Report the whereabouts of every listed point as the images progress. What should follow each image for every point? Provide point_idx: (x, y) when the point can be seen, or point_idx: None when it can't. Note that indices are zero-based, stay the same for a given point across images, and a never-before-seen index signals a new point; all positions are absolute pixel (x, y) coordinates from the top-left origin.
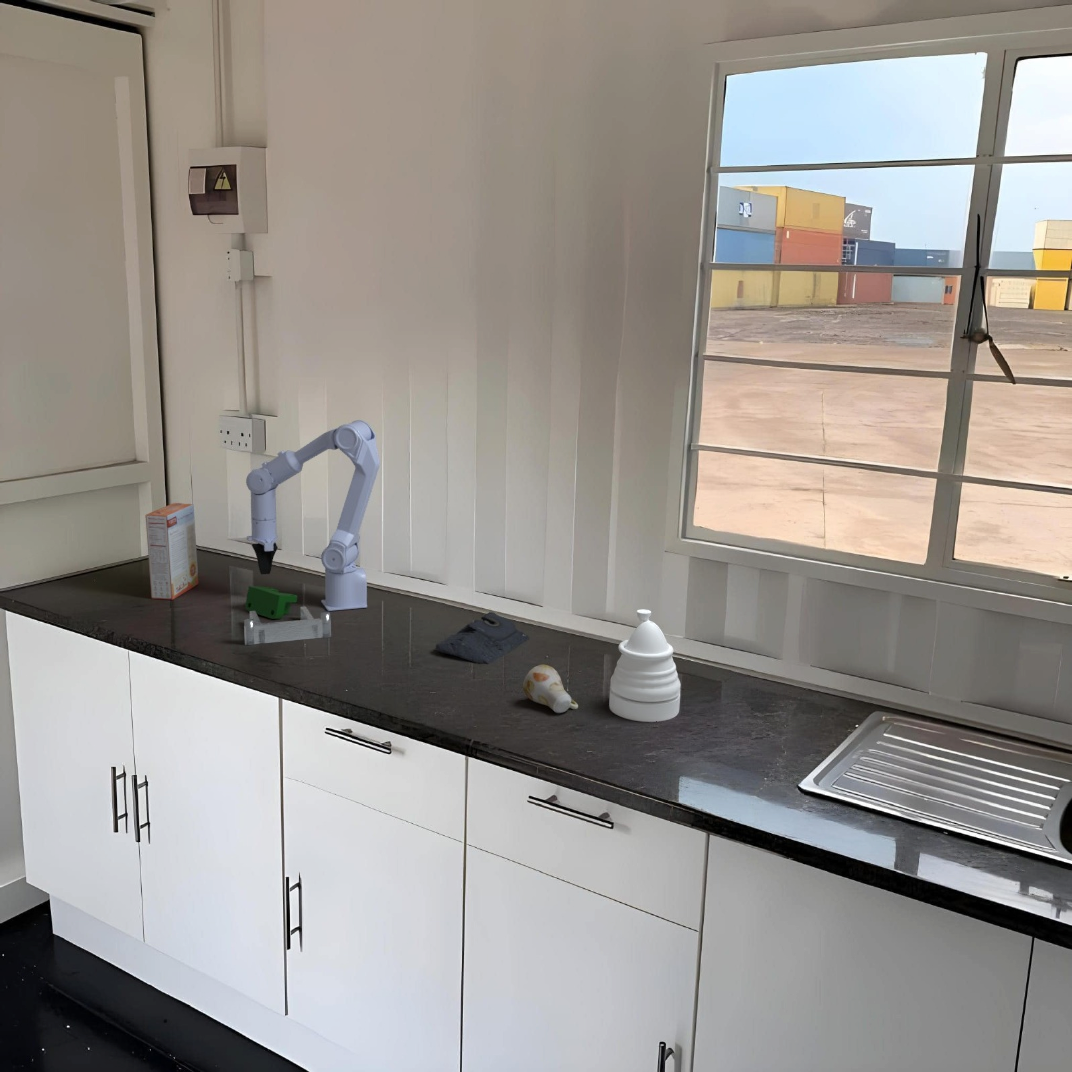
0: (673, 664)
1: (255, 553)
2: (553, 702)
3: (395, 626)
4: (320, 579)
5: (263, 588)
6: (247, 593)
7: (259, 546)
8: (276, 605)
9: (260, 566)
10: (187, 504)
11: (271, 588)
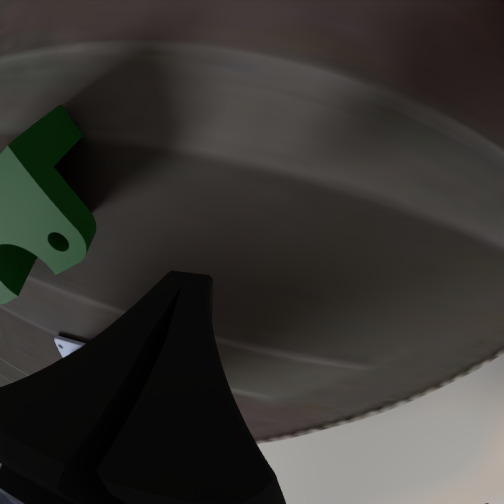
0: None
1: (214, 399)
2: None
3: (4, 369)
4: (374, 398)
5: (19, 216)
6: (30, 127)
7: (32, 481)
8: None
9: (137, 308)
10: None
11: (66, 255)
